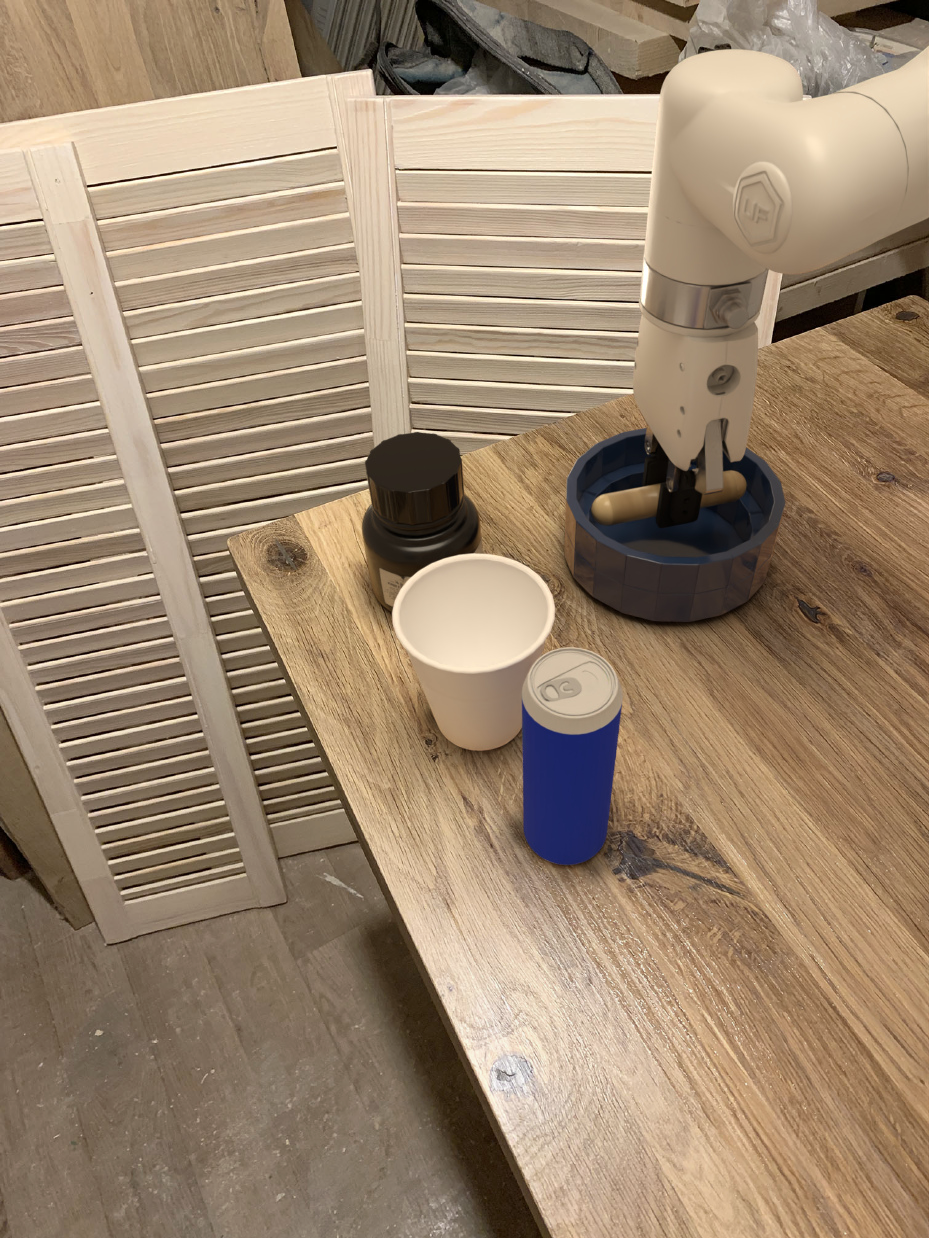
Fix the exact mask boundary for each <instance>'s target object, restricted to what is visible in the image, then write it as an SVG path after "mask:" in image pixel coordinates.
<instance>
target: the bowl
mask: <svg viewBox="0 0 929 1238" xmlns="http://www.w3.org/2000/svg"><path fill="white" fill-rule="evenodd" d="M646 429H647V427H643V428H637V429H633V430H627V431H622V432H619V433H618V434H614V435H613V436H610V437H607V438H605V439H603V440H601V441H598V442H597V443H595V444H593V445H592V446H591V447H590V448H588V450H586V451H585V452H584V453H583V454H581V455H580V456H579V457H578V458H577V459H576V460H575V462H574V464H573V466H572V468H571V470H570V472H569V473H568V475H567V477H566V481H565V482H566V484H565V509H564V510H565V514H564V515H565V516H564V543H563V545H564V546H563V556H564V559H565V561H566V563H567V565H568V568H569V570H570V572H571V575H572V577H573V579H574V580H575V581H576V582H577V583H578V584H579V585H580V586H581V587H582V588H583V589H584V590H585V591H586V592H587V593H588V594H589V595H590V596H591V597H593V598H594V599H595V600H597V601H599V602H601V603H602V604H605V605H607V606H609V607H610V608H612V609H614V610H616V611H617V612H620V613H622V614H625V615H629V616H632V617H637V618H641V619H645V620H648V621H651V622H672V623H673V622H674V623H675V622H676V623H690V622H691V623H692V622H695V621H700V620H701V621H702V620H705V619H710V618H714V617H719V616H722V615H725V614H727V613H728V612H730V611H732V610H734V609H736V608H738V607H739V606H742V605H743V604H745V603H747V602H748V601H749V600H750V599H751V598H752V597H753V596H754V595H755V594H756V592H758V590H759V589H760V588H761V587H762V586H763V585H764V583H765V581H766V578H767V575H768V572H769V569H770V565H771V562H772V558H773V554H774V550H775V546H776V542H777V539H778V535H779V530H780V527H781V523H782V519H783V515H784V512H785V508H786V499H785V494H784V489H783V485H782V481H781V479H779V477H778V475H777V474H776V473H775V471H774V470H773V469H772V468H771V466H770V464H768V462H767V461H766V459H764V458H762V457H761V456H759V455H758V454H757V453H755V452H754V451H752V450H751V449H750V448H749V447H747V446H746V450H745V453H744V456H743V458H742V459H741V460H740V461H734V462H730V460H729V459H728V457H727V456H726V454H725V453H724V452H723V450H722V455H723V471H730V470H732V471H737V472H739V473H740V474H742V475H743V477H744V478H745V480H746V485H747V486H746V491H745V493H744V495H743V496H742V497H741V498H740V499H738V500H737V501H734V502H729V503H724V504H719V505H714V506H708V507H703V508H700V511H699V516H698V519H697V520H696V521H695V522H691V523H686V524H681V525H676V526H671V527H666V528H659V527H658V525H657V524H656V517H652V518H646V519H641V520H636V521H631V522H626V523H621V524H615V525H610V526H605V525H601V524H599V523H597V522H596V521H595V519H594V518H593V516H592V512H591V508H592V504H593V502H594V500H595V499H596V498H597V497H599V496H600V495H603V494H607V493H612V492H618V491H623V490H628V489H633V488H639V487H642V482H643V473H644V465H645V457H651V456H652V455H647V453H646V451H645V436H646ZM690 464H691V467H689V469H688V470H692V469H696V465H697V461H696V462H691V463H690Z"/></svg>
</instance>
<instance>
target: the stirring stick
mask: <svg viewBox="0 0 929 1238" xmlns="http://www.w3.org/2000/svg"><path fill="white" fill-rule="evenodd" d="M660 484H661V483H660ZM660 484H655V485H649V486H644V487H639V488H633V489H628V490H623V491H618V492H612V493H607V494H603V495H600V496H599V497H597V498H596V499H595V500H594V502H593V504H592V508H591V512H592V516H593V518H594V519H595V521H596V522H597V523H599V524H601V525H605V526H610V525H615V524H621V523H626V522H631V521H636V520H641V519H646V518H652V517H656V514H657V506H658V499H659V492H660ZM746 486H747V485H746V480H745V478H744V477H743V475H742V474H740V473H739V472H737V471H732V470H730V471H723V491H722V492H717V493H712V494H707V495H703V494H702V500H701V505H700V508H703V507H708V506H714V505H719V504H724V503H729V502H734V501H737V500H738V499H740V498H741V497H742V496H743V495H744V493H745V491H746Z"/></svg>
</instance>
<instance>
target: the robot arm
mask: <svg viewBox="0 0 929 1238" xmlns="http://www.w3.org/2000/svg"><path fill="white" fill-rule="evenodd" d="M656 114H657V116H656V124H655V125H656V126H655V135H654V136H655V137H654V147H653V156H652V166H651V167H652V168H651V177H650V188H649V197H648V208H647V218H646V229H645V239H644V248H643V249H644V250H643V259H642V270H641V279H640V280H641V281H640V290H639V299H638V307H639V311H640V313H641V317H640V323H639V328H638V334H637V341H636V347H635V354H634V355H635V356H634V364H633V378H632V380H633V381H632V394H633V398H634V401H635V404H636V406H637V408H638V411H639V412H640V414H641V416H642V417H643V419H644V421H645V422H646V428H647V429H646V436H645V451H646V453H647V455H652V456H651V457H645V465H644V473H643V482H642V487H644V486H649V485H655V484H660V483H661V484H660V492H659V499H658V506H657V514H656V524H657V525H658V527H659V528H666V527H671V526H676V525H681V524H686V523H691V522H695V521H696V520H697V519H698V516H699V511H700V505H701V500H702V494H703V495H707V494H712V493H717V492H722V491H723V455H722V450H723V452H724V453H725V454H726V456H727V457H728V459H729V460H730V462H734V461H740V460H741V459H742V458H743V456H744V453H745V450H746V447H747V444H748V440H749V436H750V435H749V434H750V428H751V422H752V416H753V411H754V403H755V396H756V388H757V387H756V385H757V377H758V367H759V366H758V364H759V363H758V362H759V327H758V325H757V324H756V321H757V320H758V319H759V316H760V314H761V309H762V304H763V300H764V295H765V290H766V285H767V281H768V280H767V279H768V276H769V271H771V272H773V273H777V274H783V275H801V274H807V273H811V272H814V271H816V270H819V269H822V268H825V267H827V266H829V265H831V264H833V263H835V262H837V261H840V260H842V259H844V258H846V257H848V256H850V255H852V254H854V253H857V252H859V251H861V250H863V249H865V248H867V247H869V246H871V245H873V244H874V243H876V242H878V241H880V240H883V239H885V238H888V237H889V236H892V235H894V234H896V233H898V232H901V231H902V230H904V229H906V228H909V227H911V226H913V225H916V224H919V223H920V222H923V221H924V220H925V221H926V220H927V219H929V45H928V46H926V48H924V49H923V50H922V51H921V52H920V53H918V54H917V55H916V56H914V57H913V58H911V59H910V60H909V61H908V62H907V63H906V62H905V64H903V65H902V66H900V67H899V68H897V69H896V70H892V71H889V72H886V73H883V74H879V75H877V76H874V77H871V78H869V79H866V80H863V81H861V82H857V83H855V84H853V85H851V86H848V87H845V88H842V89H840V90H837V91H834V92H832V93H829V94H826V95H821V96H818V97H812V98H808V99H804V88H803V81H802V77H801V76H800V73H799V72H798V70H797V69H796V68H795V67H794V66H793V65H792V64H791V63H790V62H789V61H788V60H786V59H784V58H782V57H779V56H777V55H774V54H771V53H767V52H763V51H758V50H752V49H751V50H750V49H740V48H739V49H736V48H734V49H733V48H732V49H730V48H729V49H716V50H710V51H705V52H701V53H697V54H694V55H691V56H688V57H687V58H684V59H682V60H681V61H680V62H678V63H677V64H676V65H674V66H673V68H671V70H670V71H669V73H668V74H667V75H666V76H665V79H664V81H663V83H662V85H661V89H660V93H659V98H658V105H657V113H656ZM696 461H697V465H696V469H692V470H688V469H689V467H691V464H690V463H691V462H696Z"/></svg>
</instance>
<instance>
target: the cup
mask: <svg viewBox="0 0 929 1238" xmlns="http://www.w3.org/2000/svg"><path fill="white" fill-rule="evenodd" d="M391 618H392V627H393V630H394V634H395V637H396V638H397V640H398V641H399V643H400V644H401V646H402V647H403V648H404V650H405V651H406V653H407V656H408V658H409V660H410V663H411V665H412V667H413V670H414V672H415V675H416V676H417V679H418V681H419V684H420V687H421V690H422V691H423V694H424V696H425V699H426V701H427V703H428V705H429V708H430V710H431V712H432V715H433V718H434V720H435V722H436V725H437V727H438V729H439V731H440V732H441V734H442V736H443V737H445V739H447V741H449V742H451V743H452V744H453V745H455V746H457V747H460V748H461V749H465V750H470V751H479V752H480V751H482V752H483V751H491V750H493V749H497V748H500V747H502V746H504V745H506V744H508V743H510V742H511V741H513V739H515V737H516V736H517V735H518V734H519V733H520V732H521V731H522V687H523V683H524V681H525V678H526V676H527V674H528V673H529V671H530V669H531V667H532V665H533V664H534V663H535V661H536V660H537V659H538V658H540V657H541V656H542V655H543V653H544V649H545V644H546V640H547V639H548V638H549V636H550V634H551V632H552V629H553V627H554V624H555V620H556V604H555V601H554V596H553V593H552V592H551V590H550V588H549V585H548V584H547V583H546V582H545V581H544V579H543V578H542V577H541V576H540V574H538V573H536V572H535V570H533V569H532V568H530V567H529V566H527V565H525V564H523V563H521V562H520V561H517V560H515V559H512V558H508V557H506V556H502V555H496V554H493V553H483V554H475V553H473V554H463V555H457V556H452V557H448V558H444V559H442V560H439V561H437V562H434V563H432V564H430V565H428V566H426V567H425V568H423V569H421V570H419V571H418V572H417V573H416V574H414V575H413V576H412V577H411V578H410V579H409V580H408V581H407V582H406V583H405V584H404V586H403V587H402V588H401V589H400V591H399V593H398V595H397V597H396V599H395V602H394V607H393V611H392V612H391Z"/></svg>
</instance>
